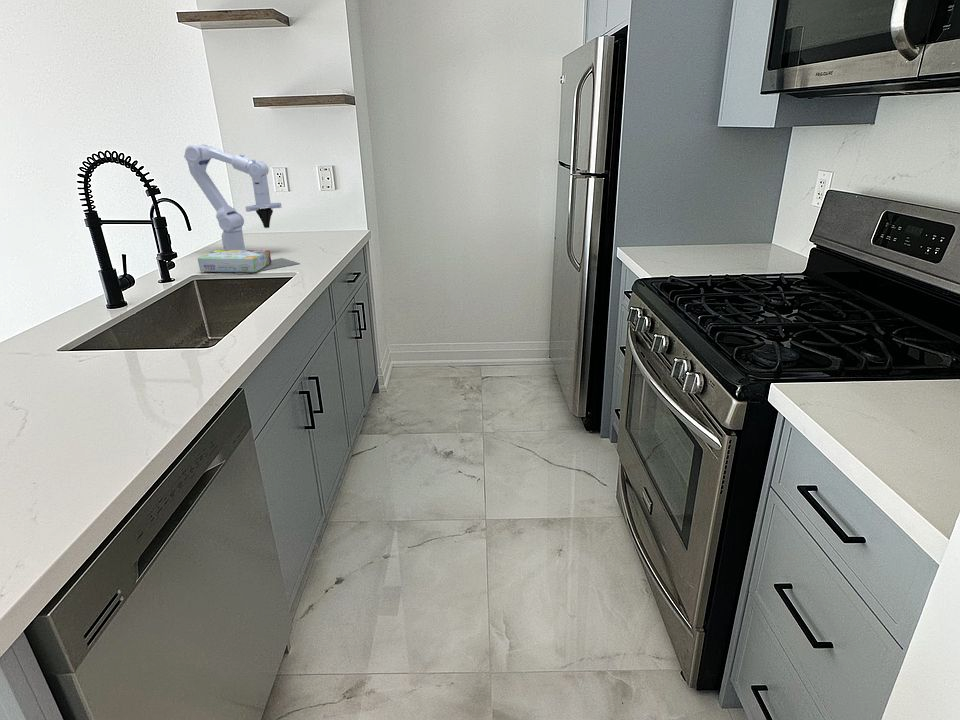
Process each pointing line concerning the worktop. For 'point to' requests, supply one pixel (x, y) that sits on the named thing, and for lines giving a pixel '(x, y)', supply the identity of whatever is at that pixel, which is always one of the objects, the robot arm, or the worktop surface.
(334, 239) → the worktop surface
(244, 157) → the robot arm
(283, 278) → the worktop surface
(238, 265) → the snack box
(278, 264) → the mat
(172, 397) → the worktop surface
